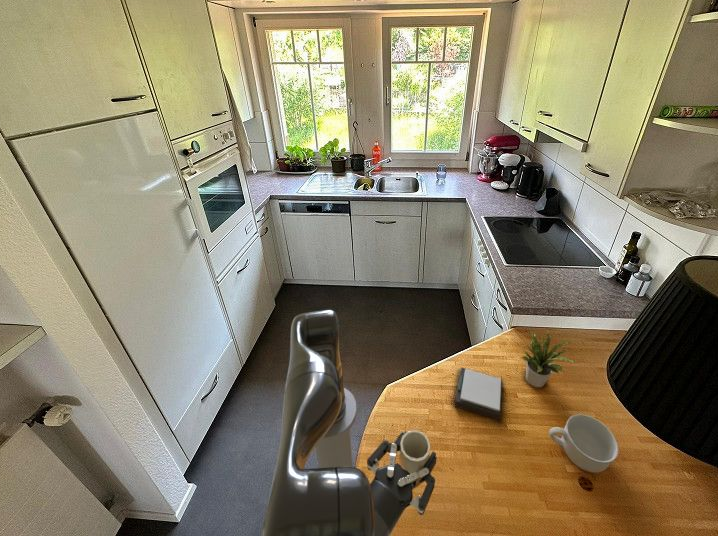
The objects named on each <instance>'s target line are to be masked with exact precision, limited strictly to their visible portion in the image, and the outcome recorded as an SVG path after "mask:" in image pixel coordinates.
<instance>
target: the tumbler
mask: <svg viewBox="0 0 718 536" xmlns="http://www.w3.org/2000/svg"><path fill="white" fill-rule="evenodd" d="M404 433H405V432H404ZM431 448H432V447H431V442H430V440H429V438H428V437H427V435H426V434H425V433H424V432H422V431H420V430H416V429H412V430H409V431H406V433H405V434H404V435H403V436H402V439H401V442H400V451H399V457H398V459H399V462H398V464H399V465H400V466H401V467H402V468H403V469H404V470H407V471H408V472H409V473H410V474H412V473H414V472H416V471H417V472H418V471H420V470H421V469H423V468H424V465H425V464H426V462H427V460H428V459H429V457H430V455H431ZM421 485H423V483H421V484H420V485H419V486H421Z"/></svg>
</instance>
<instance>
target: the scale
mask: <svg viewBox="0 0 718 536" xmlns="http://www.w3.org/2000/svg"><path fill="white" fill-rule="evenodd" d="M502 393H503V378H501V377H498V376H494V375H490V374H487V373H483V372H479V371H476V370H473V369H469V368H466V367H461V368H460V373H459V379H458V384H457V390H456V395H455V399H454V407H456V408H459V409H462V410H465V411H467V412H472V413H474V414H477V415H481V416H484V417H487V418H490V419H493V420H496V421H500V419H501V414H502V395H503V394H502Z"/></svg>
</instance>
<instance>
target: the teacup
mask: <svg viewBox="0 0 718 536" xmlns="http://www.w3.org/2000/svg"><path fill="white" fill-rule="evenodd" d="M548 433H549V437H550V439H551V440H552V441H553V442H554V443H556V444H557V445H559V447H560V448H563V451H564V453H565V455H566V457H568V459H569V460H570V461H571V462H572V463H573V464H574V465H576V466H577V467H578V468H579V469H581V470H583V471H585V472H589V473H600V472H604V471H606V470H607V469H608V468H609V467H610V466H611V464H612V463H613V462H614V461H616V459H617V458H618V456H619V444H618V440H617V439H616V437H615V435H614V433H613V432H612V431H611V430H610V428H608V426H606V425H605V424H604V423H603V422H602V421H600V420H599V419H597V418H595V417H593V416H591V415H588V414H583V413H578V414H573V415H571V416H569V418H568V419H567V421H566V423H565V426H564V428H562V427H559V426H554V427H552V428H550V429H549V432H548ZM557 435H561V438H560V437H558V436H557Z"/></svg>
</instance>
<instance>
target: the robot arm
mask: <svg viewBox="0 0 718 536" xmlns="http://www.w3.org/2000/svg"><path fill="white" fill-rule="evenodd" d="M340 334H341V332H340V322H339V317H338V314H337V313H336V311H335V310H333V309H323V310H315V311H310V312H303V313H300V314H298V315H296V316H295V317H294V318H293V320H292V322H291V325H290V340H289V341H290V347H289V348H290V349H289V350H290V351H289V363H288V368H287V373H286V380H285V384H284V392H283V401H282V410H281V411H282V412H281V425H280V435H279V441H278V447H277V452H276V456H275V457H276V458H275V463H274V468H273V473H272V478H271V482H270V488H269V494H268V497H267V503H266V508H265V514H264V520H263V526H262V533H261V534H262V535H261V536H391V534H392V533H393V530H394V529H395V527H396V525H397V524H398V522H399V520H400V518H401V517H402V515H403V513H404V511H405V510H406V509H407V508H409V506H411V507H412V508H414V509H416V510H417V514H418V515H419V516H423V515H424V514H425V512H426V509H427V507H428V504H429V502H430V500H431V497H432V494H433V492H434V490H435V487H436V486H435V484H436V478H435V477H434V476H433V475H432V471H433V470H434V468H435V466H436V464H437V459H438V458H437V456H436V455H437V453H436V452H435V451H433V450H432V451H431V452H430V456H429V459H428V460H427V462H426V464H425V465H424V468H423V469H421V470H420V471H418V472H417V471H416V472H414V473H412V474H410V473H409V472H408V471H407V470H404V469H403V468H402V467H401V466H400V465H399V462H397V461H396V460H397V454H398V452H400V442H401V439H402V436H403V435H404V434H405V433H406V432H407V431H406V430H405V431H404V432H403V431H402V432H400V434H399V435H398V436H397V438H396V439H395V441H394V442H392V443H391V442H389V441H388V440H385V439H384V440H383V441H382V442H381V443H380V445H379V446H378V447H377V448H376V449H374V451H373V452H372V454H370V456H368V458H367V459H366V466H367V467H366V468H367V470H368V471H371V472H373V474H374V478H373V479H372V481H371V482H370V480H369V478H368V476H367V474H366V473H365V471H363V470H362V469H360V468H358V467H357V466H356V467H355V466H353V467H347V466H343V467H335V468H334V467H324V468H319V467H312V468H305V466H306V463H307V461H308V459H309V457H310V455H311V454H312V452H313V451H314V450H315V449H316V448H315V447H316V445H317V444H318V443H319V442H320V440H321V439H322V438H323V437H324V436H325V434H326V433H327V432H328V430H329V429H330V428H331V426H332V425H334V424H336V423H338V422H339V421H340V420H341V419H342V418H343V416H344V414H345V411H346V403H347V402H346V403H345V399H346V397H345V393H344V388H345V386H344V385H345V384H344V373H343V364H342V357H341V356H342V355H341V337H340V336H341V335H340ZM387 453H389V456H388V457H389V459H388V464H387V465H384V466H381V467H379V466H380V461H381V460H382V459H383V457H384V456H386V455H387ZM396 462H397V463H396ZM424 482H425V483H426V485H425V487H424V490H423V491H422V494H418V495H417V496H416V497H414V494H413V492H414V491H413V490H415V489H416V488H418V487H419V486H421V485H422V484H423V483H424ZM421 483H422V484H421ZM420 484H421V485H420Z"/></svg>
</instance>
